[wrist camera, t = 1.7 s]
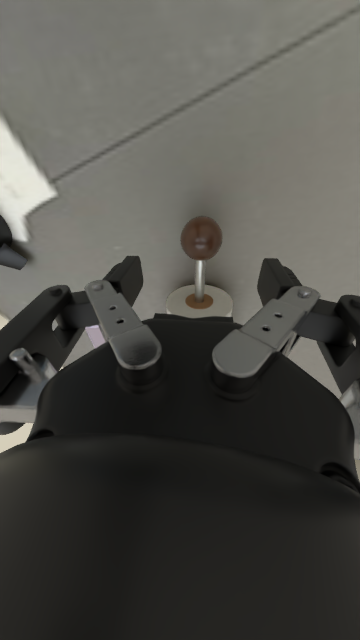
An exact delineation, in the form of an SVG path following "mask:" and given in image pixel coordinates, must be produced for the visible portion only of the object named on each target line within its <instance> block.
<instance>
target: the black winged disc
mask: <svg viewBox="0 0 360 640" xmlns="http://www.w3.org/2000/svg"><path fill="white" fill-rule="evenodd" d="M11 243H12V235H11V231H10V229H9V227H8V225H7V223H6V222H5V220H4V219H3V218H2V216H1V215H0V265H3V266H7V267H11V268H14V269H18V270H21V269H22V268H23V267H24V265H25V264H26V262H27V259H25V258H24V257H22V256H21V255H19V254H18V253H16V252H15V251H14V250H12V249H11V248H10V246H11Z"/></svg>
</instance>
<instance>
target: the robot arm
mask: <svg viewBox="0 0 360 640" xmlns="http://www.w3.org/2000/svg"><path fill="white" fill-rule="evenodd" d="M142 286H143V275H142V268H141V262H140V258H139V256H127V257H126V258H125V259H124V260H123V262H122V263H119V264H117V265H115V266H114V267H113V268H112V269H111V271H110V272H109V273H108V274H107V275H106V276H105V277H104V279H103V280H97V281H93V282H90V283H88V284H87V285H86V286H85V288H84V289H85V291H81V292H74V293H71V291H70V288H69V287H68V286H66V285H57V286H53V287H50V288H48V289H46V290H44V291H43V292H42V293H41V294H40V295H39V296H38V297H36V298H35V299H34V300H33V301H32V302H31V303H30V304H29V305H28V306H26V307H25V308H24V309H23V310H22V311H21V312H20V313H19V314H18V315H17V316H15V317H14V318H13V319H12V320H11V321H10V322H9V323H8V324H7V325H6V326H5V327H3V328H2V329H1V330H0V435H6V434H9V433H12V432H14V431H16V430H17V429H19V428H20V427H22V426H23V424H25V423H34V424H33V427H32V430H31V432H30V435H29V437H28V439H27V441H26V442H25V443H22V444H20V445H17V446H14V447H12V448H10V449H8V450H6V451H4V452H2V453H0V640H360V482H359V479H358V475H357V471H356V466H355V459H357V460H360V296H355V295H344V296H341V297H340V299H339V301H338V303H335V302H330V301H325V300H321V299H319V298H320V294H319V293H318V292H317V291H316V290H314V289H312V288H309V287H305V286H302V284H301V283H300V282H299V280H298V279H297V277H296V276H295V275H294V273H293V272H292V270H290V269H289V268H287V267H284V266H282V265H281V263H280V262H279V260H278V259H275V258H265V259H264V260H263V263H262V267H261V271H260V275H259V279H258V285H257V289H258V293H259V296H260V299H261V301H262V304H263V308H262V309H260V310H259V311H258V312H257V313H256V314H255V315H254V316H253V317H252V318H251V319H250V320H249V321H248V322H247V323H246V324H245V325H240V324H237V323H234V322H233V317H222V316H209V317H201V318H188V317H184V316H179V315H175V314H158V313H155V315H154V318H153V319H147V320H144V321H141V320H140V319H139V317H138V316H137V315H136V313H135V312H134V310H133V309H132V306H133V304H134V302H135V300H136V298H137V296H138V294H139V292H140V290H141V288H142ZM54 319H55V320H56V322H57V323H58V326H57V327H56V329H55V330H54V331H53V330H52V323H53V321H54ZM95 325H98V326H99V329H100V331H101V334H102V336H103V338H104V341H105V343H103V344H102V345H100V346H99V347H97V348H95V349H94V350H92V351H90V352H89V353H87V354H86V355H84V356H82V357H81V358H79V359H77V360H76V361H74V362H73V363H71V364H69V365H68V366H66V367H64V368H63V369H61V370H60V368H61V367H62V365H63V363H64V362H65V360H66V359H67V357H68V356H69V354H70V352H71V351H72V349H73V348H74V346H75V344H76V343H77V341H78V340H79V338H80V336H81V335H82V333H83V332H84V330H85V328H86V327H89V326H95ZM300 337H305V338H309V339H313V340H317V344H318V346H319V348H320V350H321V352H322V354H323V356H324V358H325V360H326V362H327V365H328V367H329V369H330V371H331V373H332V375H333V377H334V379H335V381H336V383H337V385H338V387H339V389H340V391H341V394H342V396H341V397H340V398H339V399H338V398H337V397H336V396H335V395H334V394H333V393H332V392H331V391H329V390H328V389H327V388H326V387H324V386H323V385H322V384H321V383H319V382H318V381H317V380H315V379H314V378H313V377H312V376H310V375H309V374H308V373H306V372H305V371H304V370H303V369H301V368H300V367H299V366H297V365H296V364H295V363H294V362H292V361H291V360H290V359H289V358H287V356H288V355H289V354H290V352H291V351H292V349H293V348H294V346H295V345H296V344H297V342H298V341H299V339H300ZM354 339H356V347H355V346H354V345H353V343H352V342H353V341H354ZM59 370H60V371H59ZM58 371H59V372H58Z"/></svg>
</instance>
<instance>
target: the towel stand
mask: <svg viewBox="0 0 360 640" xmlns="http://www.w3.org/2000/svg"><path fill="white" fill-rule="evenodd" d="M221 244H222V231H221V229H220V227H219V225H218V224H217V222H216V221H214V220H213V219H211V218H209V217H206V216H199V217H196V218H193V219H191V220H190V221H189V222H188V223H187V224H186V225H185V227H184V228H183V230H182V233H181V245H182V248H183V250H184V252H185V253H186V254H187V256H189V257H190V258H192V259H194V260H195V285H188V286H184V287H181V288H178V289H176V290H175V291H173V292H172V293H171V294H170V295H169V296H168V298H167V300H166V310H167V314H175V315H179V316H184V317H188V318H201V317H209V316H222V317H231V316H232V310H233V301H232V298H231V297H230V295H229V294H228V293H226V292H225V291H223V290H222V289H219V288H217V287H214V286H209V285H205V270H206V260H208V259H210V258H212V257H213V256H214V255H215V254H216V253H217V252H218V251H219V249H220V247H221Z"/></svg>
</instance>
